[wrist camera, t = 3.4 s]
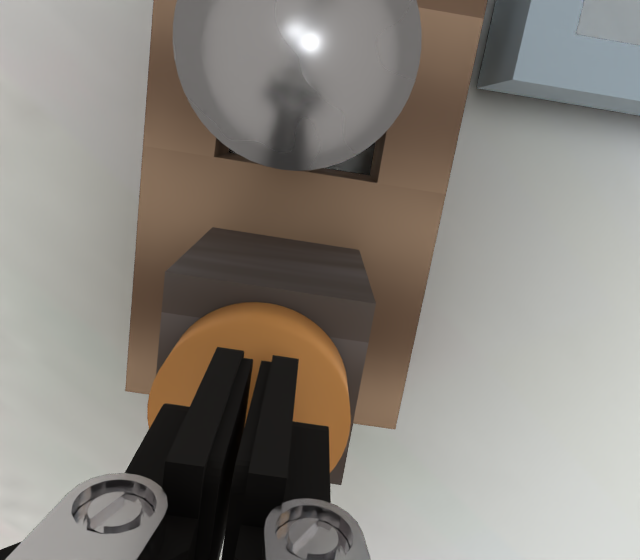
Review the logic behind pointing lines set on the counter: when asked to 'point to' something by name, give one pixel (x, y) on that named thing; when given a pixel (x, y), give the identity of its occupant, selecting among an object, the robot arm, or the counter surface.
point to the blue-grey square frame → (558, 58)
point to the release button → (260, 344)
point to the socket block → (300, 222)
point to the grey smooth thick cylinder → (297, 74)
